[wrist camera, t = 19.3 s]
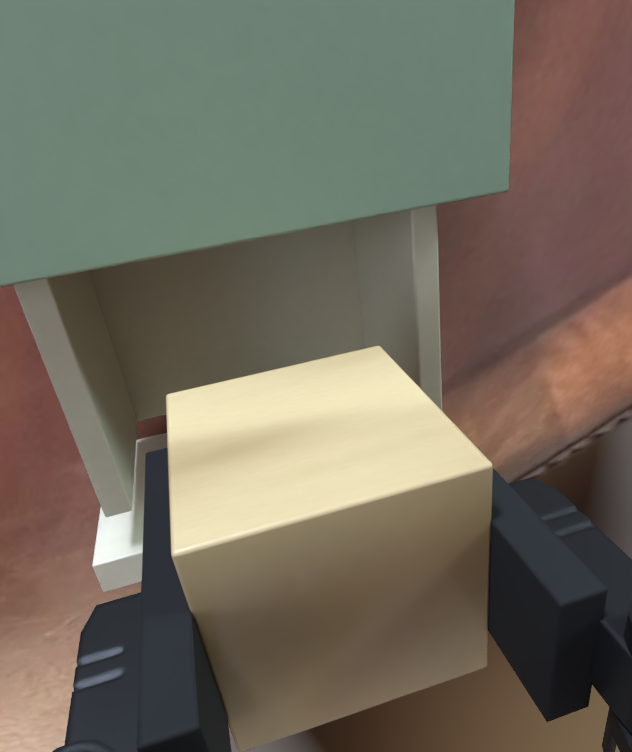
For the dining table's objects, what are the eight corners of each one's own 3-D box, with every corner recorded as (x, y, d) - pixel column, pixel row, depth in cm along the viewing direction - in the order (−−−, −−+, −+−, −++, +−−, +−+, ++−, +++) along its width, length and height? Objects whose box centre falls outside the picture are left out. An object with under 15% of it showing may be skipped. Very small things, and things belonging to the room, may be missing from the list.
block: (392, 507, 15) (488, 668, 11) (213, 559, 14) (238, 755, 10) (379, 343, 13) (494, 463, 8) (165, 393, 12) (169, 555, 8)
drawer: (403, 518, 29) (469, 626, 23) (161, 589, 27) (162, 728, 20) (363, -41, 18) (469, -121, 12) (-53, 2, 16) (-185, -69, 10)
